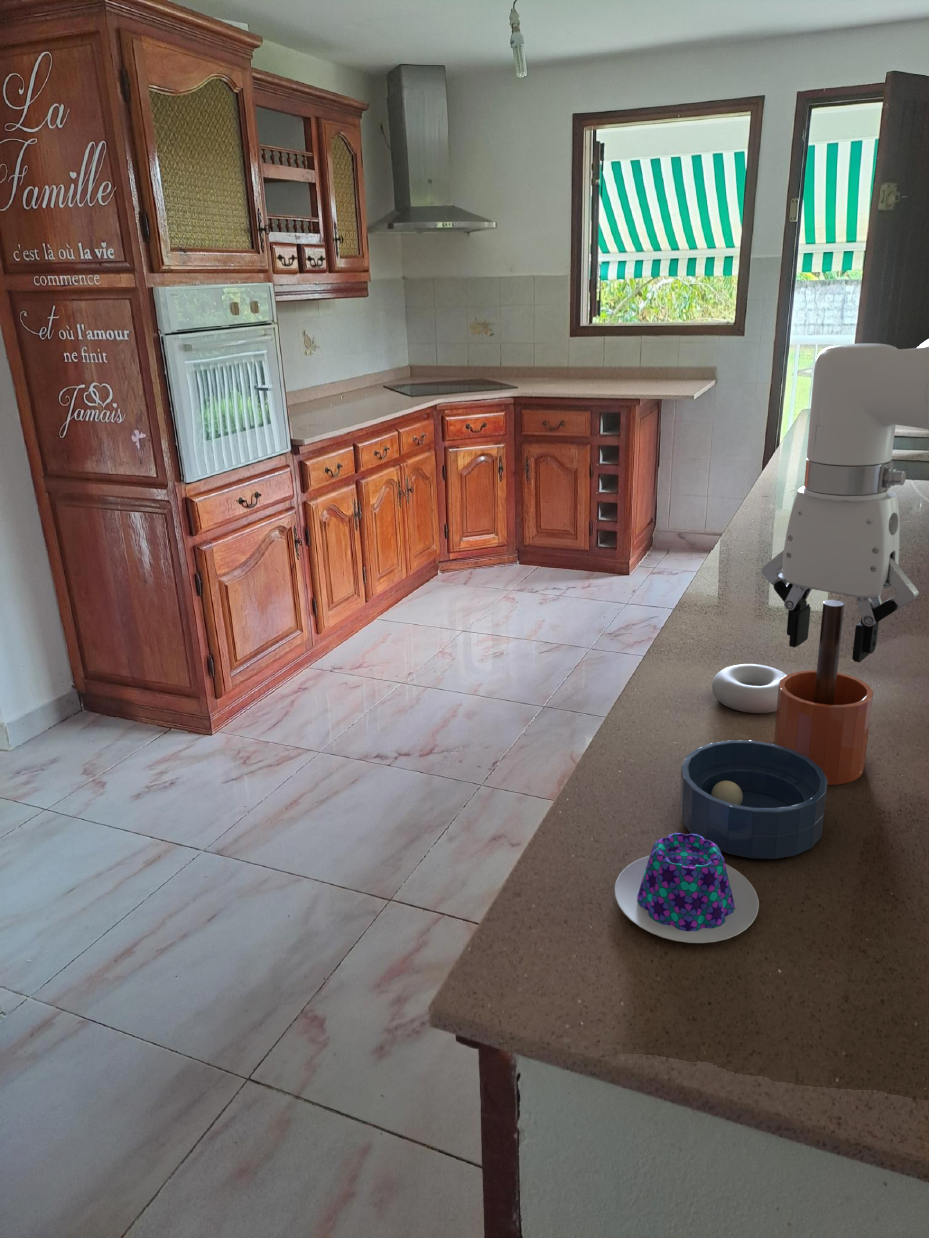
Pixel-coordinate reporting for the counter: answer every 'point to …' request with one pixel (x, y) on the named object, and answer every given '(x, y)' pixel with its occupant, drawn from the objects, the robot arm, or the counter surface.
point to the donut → (748, 687)
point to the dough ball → (728, 792)
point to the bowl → (754, 798)
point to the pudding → (686, 892)
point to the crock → (825, 724)
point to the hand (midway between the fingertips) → (829, 648)
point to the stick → (828, 652)
